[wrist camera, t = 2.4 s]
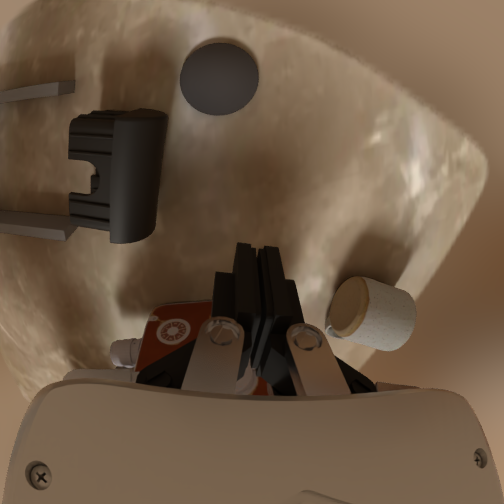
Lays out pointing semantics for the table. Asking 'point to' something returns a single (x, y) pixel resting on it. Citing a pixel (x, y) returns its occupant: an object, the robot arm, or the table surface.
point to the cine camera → (174, 342)
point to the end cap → (119, 171)
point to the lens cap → (219, 79)
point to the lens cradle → (35, 222)
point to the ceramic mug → (371, 314)
